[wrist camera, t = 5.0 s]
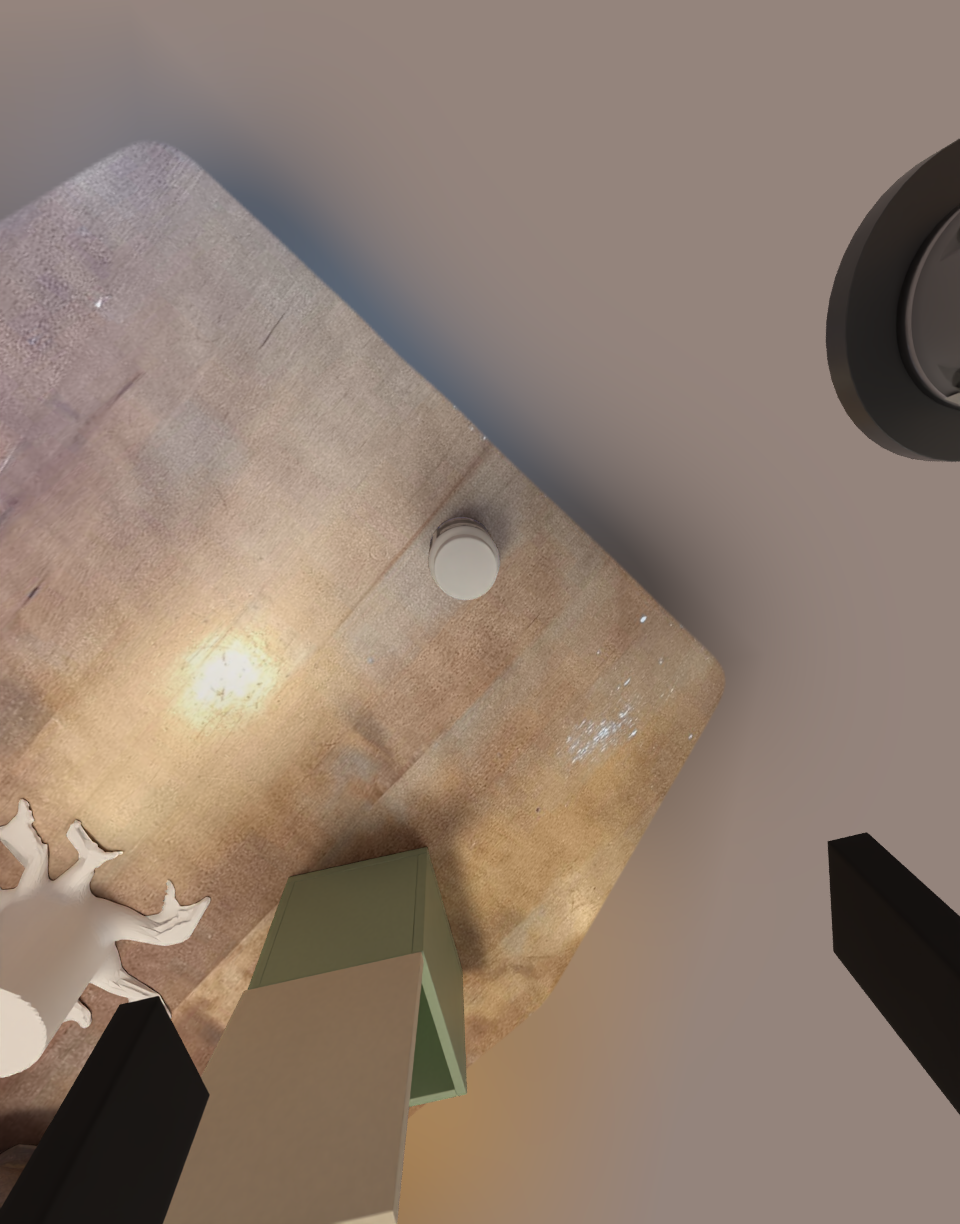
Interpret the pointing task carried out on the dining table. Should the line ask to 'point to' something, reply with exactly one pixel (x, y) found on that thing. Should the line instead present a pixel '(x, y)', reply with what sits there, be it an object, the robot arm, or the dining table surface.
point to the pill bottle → (463, 558)
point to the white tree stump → (66, 941)
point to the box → (378, 950)
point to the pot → (12, 1167)
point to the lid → (308, 1102)
